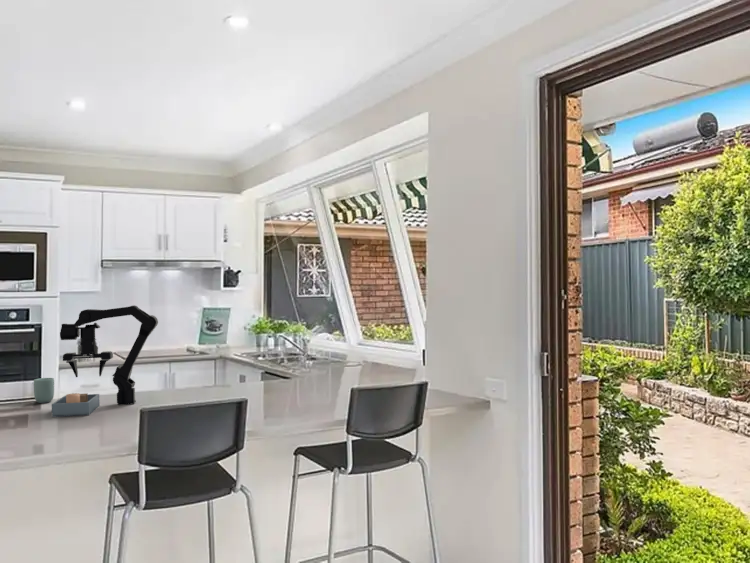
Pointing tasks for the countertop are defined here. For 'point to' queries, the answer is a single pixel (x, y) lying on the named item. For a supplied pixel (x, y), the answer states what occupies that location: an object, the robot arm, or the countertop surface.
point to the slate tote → (75, 407)
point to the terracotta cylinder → (73, 398)
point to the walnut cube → (84, 397)
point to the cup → (44, 389)
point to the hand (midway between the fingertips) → (88, 376)
